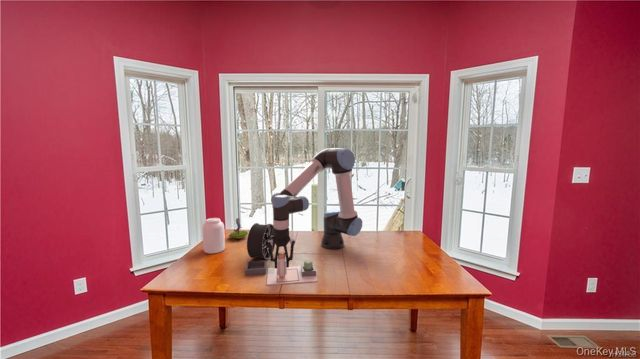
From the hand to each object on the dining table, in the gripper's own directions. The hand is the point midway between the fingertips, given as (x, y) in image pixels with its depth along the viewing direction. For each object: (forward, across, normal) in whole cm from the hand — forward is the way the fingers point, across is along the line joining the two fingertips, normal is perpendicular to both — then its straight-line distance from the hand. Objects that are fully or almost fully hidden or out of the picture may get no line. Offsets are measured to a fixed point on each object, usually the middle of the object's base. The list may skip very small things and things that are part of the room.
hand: (281, 273), depth 131 cm
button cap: (0, -13, -3) cm, 14 cm away
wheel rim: (+3, +11, -28) cm, 30 cm away
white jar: (+3, +41, -43) cm, 59 cm away
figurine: (+3, +30, -63) cm, 70 cm away
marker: (+2, 0, 0) cm, 2 cm away
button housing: (+3, -13, -3) cm, 14 cm away
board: (+3, -5, -3) cm, 6 cm away
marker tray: (+3, +13, -11) cm, 17 cm away
